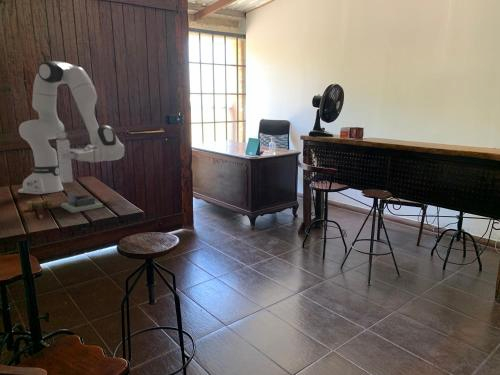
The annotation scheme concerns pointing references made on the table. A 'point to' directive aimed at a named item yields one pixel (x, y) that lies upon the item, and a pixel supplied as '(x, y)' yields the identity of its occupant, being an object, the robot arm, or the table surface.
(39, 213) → the gavel
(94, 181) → the table surface
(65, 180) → the steel link
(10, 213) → the table surface
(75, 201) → the keeper bracket
